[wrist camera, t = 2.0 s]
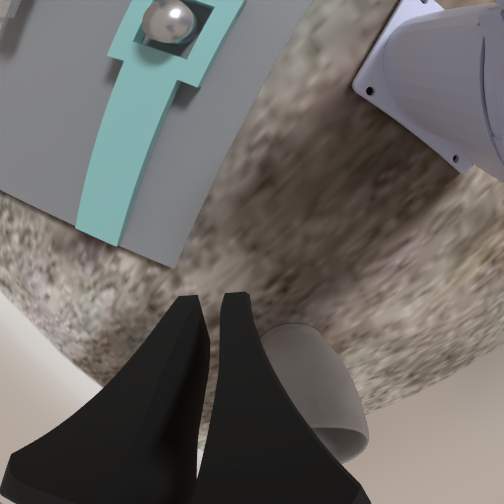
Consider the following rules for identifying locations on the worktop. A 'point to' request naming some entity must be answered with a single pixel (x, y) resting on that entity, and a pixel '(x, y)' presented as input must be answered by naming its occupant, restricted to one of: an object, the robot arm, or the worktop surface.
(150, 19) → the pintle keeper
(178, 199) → the board
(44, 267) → the worktop surface
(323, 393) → the mug
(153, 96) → the link
